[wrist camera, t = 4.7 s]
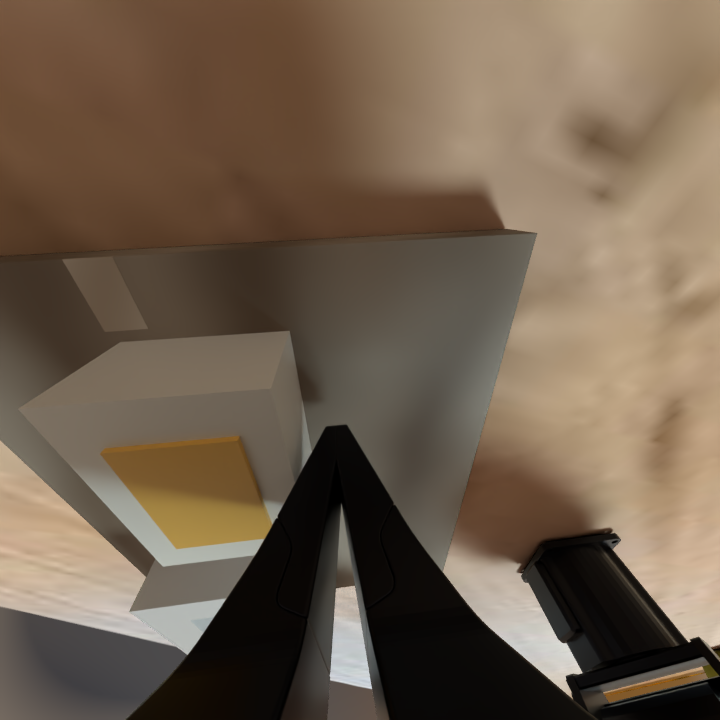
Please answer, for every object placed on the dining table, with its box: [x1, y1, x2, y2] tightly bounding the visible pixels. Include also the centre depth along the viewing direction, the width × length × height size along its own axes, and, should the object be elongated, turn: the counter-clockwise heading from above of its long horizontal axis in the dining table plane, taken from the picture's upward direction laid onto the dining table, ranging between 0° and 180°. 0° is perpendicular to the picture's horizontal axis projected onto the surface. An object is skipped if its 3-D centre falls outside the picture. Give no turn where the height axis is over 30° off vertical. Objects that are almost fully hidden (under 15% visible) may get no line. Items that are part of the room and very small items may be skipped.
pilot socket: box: [129, 555, 255, 655], centre depth 15 cm, size 8×8×2 cm
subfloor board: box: [0, 229, 537, 588], centre depth 13 cm, size 18×22×2 cm
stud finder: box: [18, 331, 312, 567], centre depth 8 cm, size 5×7×3 cm
